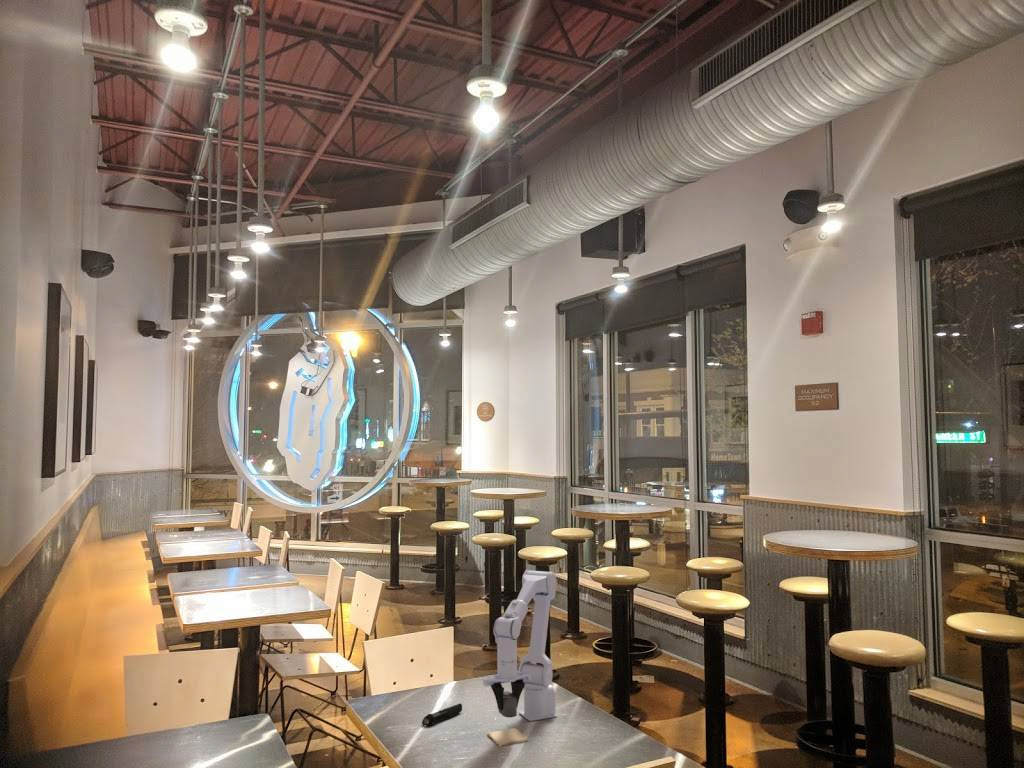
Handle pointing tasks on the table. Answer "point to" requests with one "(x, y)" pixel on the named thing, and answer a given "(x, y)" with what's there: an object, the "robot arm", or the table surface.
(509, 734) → the pad
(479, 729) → the table surface
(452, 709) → the electric trimmer
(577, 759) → the table surface
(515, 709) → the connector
